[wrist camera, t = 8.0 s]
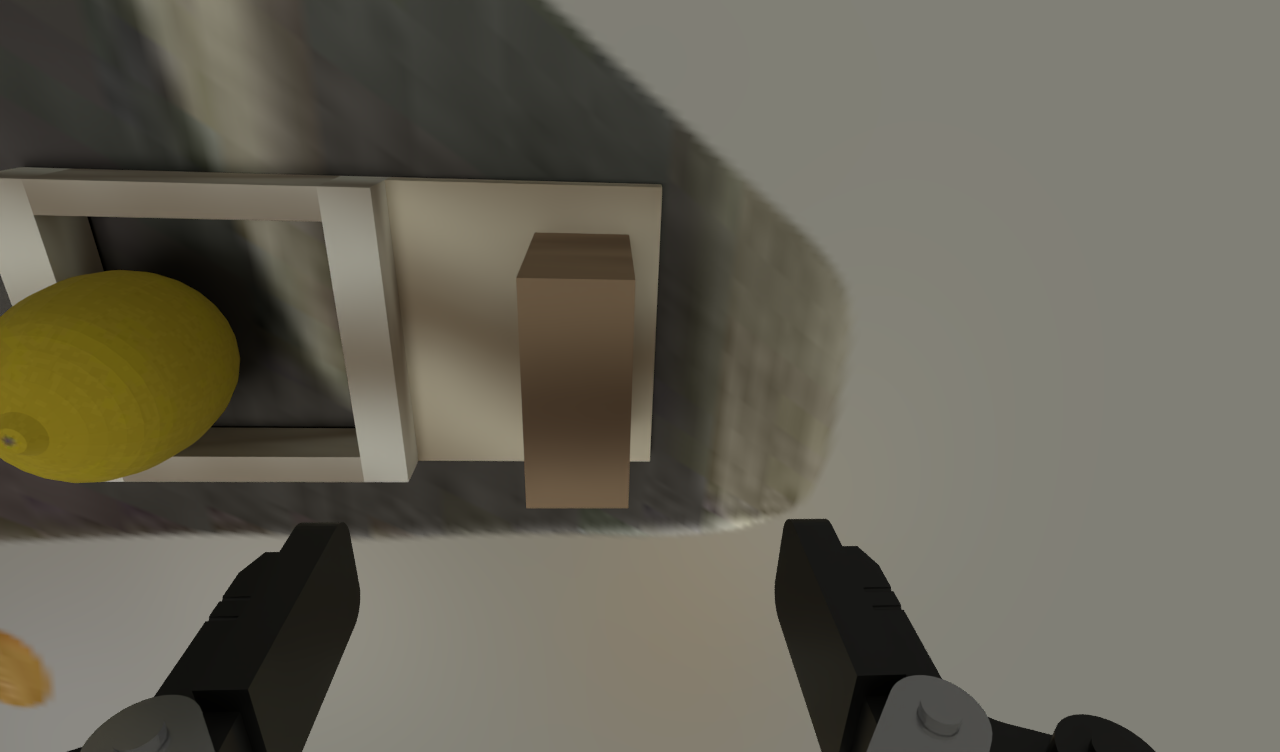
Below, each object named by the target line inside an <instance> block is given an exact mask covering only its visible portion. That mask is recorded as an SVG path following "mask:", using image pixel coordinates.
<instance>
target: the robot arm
mask: <svg viewBox="0 0 1280 752" xmlns="http://www.w3.org/2000/svg"><path fill="white" fill-rule="evenodd" d="M775 604H776V611H777V615H778V619H779V622H780V625H781V628H782V631H783V634H784V637H785V640H786V643H787V647H788V649H789V653H790V655H791V659H792V662H793V665H794V668H795V671H796V674H797V677H798V680H799V683H800V687H801V690H802V693H803V696H804V698H805V702H806V705H807V708H808V711H809V714H810V717H811V720H812V723H813V726H814V730H815V733H816V736H817V739H818V742H819V745H820V748H821V751H822V752H1155V751H1154V750H1153V749H1152V748H1151V747H1150V746H1149V745H1148V744H1147V743H1146V742H1144V741H1143V740H1142V739H1141V738H1140V737H1138V736H1137V735H1135V734H1134V733H1132V732H1131V731H1129V730H1128V729H1126V728H1124V727H1122V726H1120V725H1118V724H1116V723H1114V722H1112V721H1110V720H1107V719H1103V718H1101V717H1097V716H1092V715H1084V714H1082V715H1072V716H1068V717H1066V718H1064V719H1062V720H1061V721H1060V722H1059V723H1058V725H1057V727H1056V729H1055V731H1054V733H1053V735H1050V734H1045V733H1042V732H1038V731H1034V730H1030V729H1026V728H1022V727H1018V726H1014V725H1010V724H1006V723H1003V722H1000V721H997V720H994V719H992V718H989V717H987V715H986V713H985V711H984V710H983V709H982V708H981V706H980V705H979V704H978V703H977V702H976V700H975V699H974V698H973V697H971V696H970V695H969V694H968V693H967V692H965V691H964V690H962V689H961V688H959V687H958V686H956V685H954V684H952V683H950V682H948V681H946V680H943V679H942V678H941V677H940V675H939V673H938V671H937V669H936V667H935V666H934V664H933V662H932V660H931V658H930V657H929V655H928V653H927V651H926V650H925V648H924V646H923V644H922V642H921V641H920V639H919V637H918V635H917V633H916V631H915V630H914V628H913V626H912V624H911V622H910V621H909V619H908V617H907V615H906V613H905V612H904V610H901V604H900V603H899V601H898V599H897V597H896V595H895V594H894V592H893V591H891V587H890V584H889V583H888V581H887V579H886V577H885V576H884V574H883V572H882V570H881V568H880V566H879V565H878V564H877V563H876V562H875V561H873V560H872V559H871V558H870V557H869V556H868V555H867V554H866V553H864V552H863V551H862V550H861V549H860V548H859V547H858V546H842V545H841V543H840V541H839V539H838V537H837V535H836V533H835V531H834V529H833V527H832V525H831V523H830V522H829V520H827V519H788V520H786V522H785V524H784V528H783V534H782V540H781V547H780V553H779V560H778V566H777V573H776V579H775ZM359 606H360V587H359V582H358V575H357V570H356V565H355V559H354V554H353V549H352V543H351V538H350V533H349V529H348V527H347V525H346V524H345V523H343V522H330V523H300V524H298V525H297V526H296V527H295V528H294V530H293V531H292V533H291V534H290V536H289V538H288V539H287V541H286V543H285V544H284V546H283V547H282V549H281V550H280V552H265V553H264V554H262V555H261V556H260V557H259V558H257V559H256V560H255V561H254V562H252V563H251V564H250V565H248V566H247V567H246V568H245V569H243V570H242V571H241V572H240V573H239V574H238V575H237V576H236V578H235V579H234V581H233V582H232V584H231V585H230V587H229V588H228V590H227V591H226V593H225V594H224V595H223V600H222V602H221V601H220V602H219V603H218V604H217V606H216V607H215V609H214V610H213V612H212V613H211V614H210V616H209V621H207V622H205V623H204V625H203V626H202V628H201V629H200V630H199V632H198V633H197V635H196V636H195V638H194V639H193V641H192V642H191V644H190V645H189V647H188V648H187V649H186V651H185V653H184V654H183V655H182V657H181V658H180V660H179V661H178V663H177V664H176V665H175V667H174V668H173V670H172V671H171V673H170V674H169V676H168V677H167V679H166V680H165V682H164V683H163V685H162V686H161V687H160V689H159V690H158V692H157V693H156V695H155V696H154V697H153V698H149V699H146V700H143V701H141V702H138V703H136V704H134V705H131V706H129V707H127V708H125V709H123V710H122V711H120V712H119V713H117V714H115V715H114V716H112V717H111V718H110V719H108V720H107V721H106V722H105V723H103V724H102V725H101V726H100V727H99V728H98V729H97V730H96V731H95V732H94V733H93V734H92V735H91V736H90V737H89V738H88V740H87V741H86V743H85V744H84V746H83V747H81V748H78V749H75V750H71V751H68V752H302V750H303V748H304V746H305V743H306V741H307V738H308V736H309V734H310V731H311V729H312V726H313V724H314V721H315V719H316V717H317V715H318V712H319V710H320V707H321V705H322V703H323V700H324V698H325V696H326V693H327V691H328V688H329V686H330V684H331V681H332V679H333V677H334V674H335V672H336V669H337V667H338V665H339V662H340V660H341V657H342V655H343V653H344V650H345V648H346V646H347V643H348V641H349V638H350V636H351V633H352V631H353V629H354V626H355V624H356V621H357V617H358V613H359Z"/></svg>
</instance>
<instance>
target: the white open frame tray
mask: <svg viewBox="0 0 1280 752" xmlns="http://www.w3.org/2000/svg"><path fill="white" fill-rule="evenodd" d="M661 207H662V185H661V184H632V183H595V182H557V181H520V180H482V179H445V178H407V177H370V176H332V175H295V174H257V173H220V172H182V171H145V170H107V169H70V168H32V167H19V168H14V169H8V170H2V171H0V274H1V277H2V280H3V282H4V285H5V288H6V291H7V293H8V296H9V299H10V301H11V304H12V307H13V306H14V305H15V304H17V303H18V302H19V301H21V300H23V299H24V298H26V297H28V296H30V295H32V294H34V293H36V292H38V291H40V290H42V289H44V288H46V287H48V286H51V285H53V284H55V283H57V282H59V281H62V280H65V279H68V278H71V277H75V276H79V275H85V274H91V273H98V272H104V270H103V267H102V264H101V260H100V257H99V254H98V250H97V247H96V244H95V241H94V237H93V234H92V231H91V228H90V224H89V221H88V218H87V216H96V217H140V218H184V219H227V220H271V221H315V222H322V225H323V231H324V237H325V243H326V249H327V256H328V262H329V268H330V274H331V280H332V286H333V292H334V299H335V305H336V311H337V317H338V323H339V329H340V335H341V342H342V348H343V354H344V360H345V366H346V372H347V378H348V385H349V391H350V397H351V403H352V409H353V415H354V421H355V428H209V430H208V431H207V432H206V433H205V434H204V435H203V436H202V437H201V438H200V439H198V440H197V441H196V442H195V443H193V444H192V445H190V446H189V447H187V448H186V449H184V450H183V451H181V452H179V453H178V454H176V455H174V456H173V457H171V458H169V459H168V460H166V461H164V462H162V463H160V464H159V465H156V466H154V467H152V468H150V469H148V470H145V471H142V472H140V473H137V474H133V475H129V476H126V477H122V478H118V479H114V480H110V481H104V482H409V480H410V478H411V476H412V473H413V471H414V469H415V467H416V465H417V463H418V461H524V466H525V489H526V508H628V501H629V469H630V461H650V445H651V423H652V402H653V380H654V358H655V337H656V315H657V293H658V272H659V250H660V228H661Z"/></svg>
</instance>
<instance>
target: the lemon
mask: <svg viewBox="0 0 1280 752" xmlns="http://www.w3.org/2000/svg"><path fill="white" fill-rule="evenodd" d="M239 365H240V355H239V350H238V346H237V341H236V337H235V335H234V333H233V331H232V329H231V327H230V325H229V323H228V321H227V319H226V318H225V317H224V316H223V314H222V313H221V312H220V311H219V309H218V308H217V307H216V306H215V305H214V304H213V303H212V302H211V301H210V300H208V299H207V298H206V297H205V296H203V295H202V294H201V293H200V292H198V291H196V290H195V289H193V288H191V287H189V286H187V285H185V284H184V283H182V282H180V281H177V280H174V279H171V278H168V277H165V276H161V275H158V274H155V273H150V272H141V271H129V270H111V271H104V272H98V273H91V274H85V275H79V276H75V277H71V278H68V279H65V280H62V281H59V282H57V283H55V284H53V285H51V286H48V287H46V288H44V289H42V290H40V291H38V292H36V293H34V294H32V295H30V296H28V297H26V298H24V299H23V300H21V301H19V302H18V303H17V304H15V305H14V306H13V307H11V308H10V309H9V310H8V311H7V312H5V313H4V314H3V315H2V316H1V317H0V458H1V459H3V460H4V461H6V462H8V463H9V464H11V465H13V466H15V467H17V468H19V469H21V470H23V471H25V472H28V473H31V474H34V475H37V476H40V477H42V478H46V479H52V480H59V481H65V482H72V483H85V482H104V481H110V480H114V479H118V478H122V477H126V476H129V475H133V474H137V473H140V472H142V471H145V470H148V469H150V468H152V467H154V466H156V465H159V464H160V463H162V462H164V461H166V460H168V459H169V458H171V457H173V456H174V455H176V454H178V453H179V452H181V451H183V450H184V449H186V448H187V447H189V446H190V445H192V444H193V443H195V442H196V441H197V440H198V439H200V438H201V437H202V436H203V435H204V434H205V433H206V432H207V431H208V430H209V428H210V427H211V426H212V425H213V424H214V423H215V422H216V420H217V419H218V418H219V417H220V416H221V414H222V413H223V412H224V411H225V409H226V407H227V406H228V404H229V402H230V399H231V397H232V394H233V392H234V390H235V387H236V385H237V382H238V377H239Z"/></svg>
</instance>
